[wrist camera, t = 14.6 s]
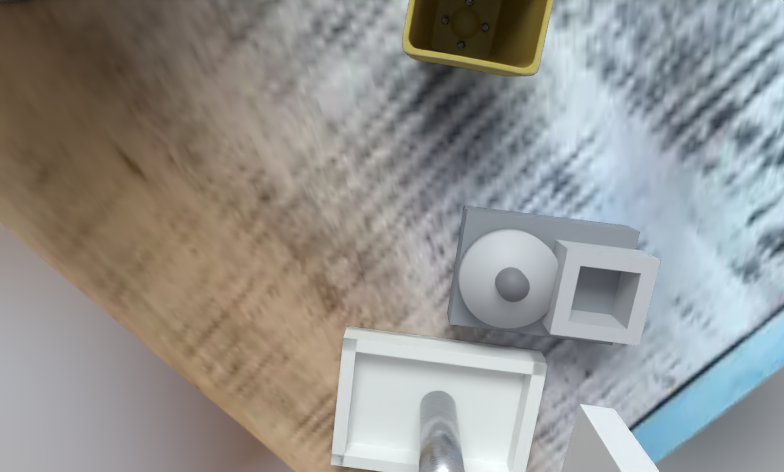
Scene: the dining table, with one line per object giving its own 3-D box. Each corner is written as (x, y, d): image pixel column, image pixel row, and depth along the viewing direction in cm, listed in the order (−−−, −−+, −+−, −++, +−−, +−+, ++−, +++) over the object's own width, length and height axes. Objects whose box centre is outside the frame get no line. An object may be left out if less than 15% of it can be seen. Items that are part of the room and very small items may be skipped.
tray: (334, 446, 46) (330, 464, 43) (347, 325, 43) (343, 337, 40) (515, 471, 45) (521, 490, 43) (540, 350, 42) (548, 364, 40)
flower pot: (534, -26, 36) (573, -78, 27) (508, 90, 38) (537, 76, 29) (422, -46, 36) (425, -104, 27) (402, 71, 38) (399, 52, 29)
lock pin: (417, 420, 44) (415, 534, 31) (422, 388, 43) (421, 489, 30) (453, 426, 44) (466, 542, 30) (458, 393, 43) (473, 497, 30)
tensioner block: (447, 313, 42) (452, 340, 36) (464, 205, 40) (472, 217, 34) (606, 333, 42) (635, 364, 36) (631, 226, 40) (667, 241, 34)
